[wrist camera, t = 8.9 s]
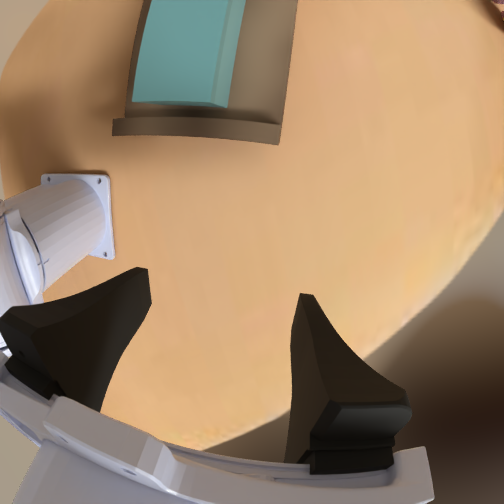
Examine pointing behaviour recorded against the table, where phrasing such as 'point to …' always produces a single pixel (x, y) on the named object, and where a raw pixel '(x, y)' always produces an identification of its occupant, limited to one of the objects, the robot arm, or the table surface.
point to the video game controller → (500, 1)
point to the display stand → (241, 90)
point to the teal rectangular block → (188, 52)
